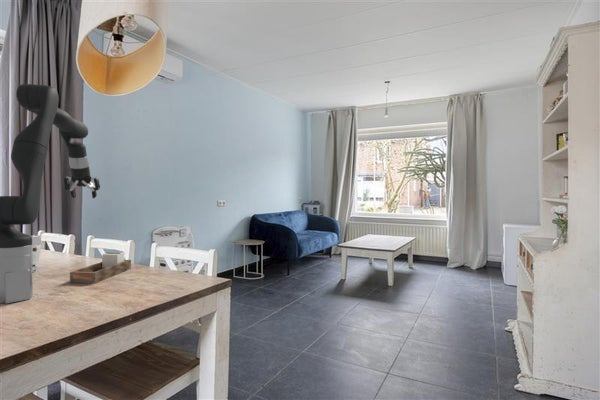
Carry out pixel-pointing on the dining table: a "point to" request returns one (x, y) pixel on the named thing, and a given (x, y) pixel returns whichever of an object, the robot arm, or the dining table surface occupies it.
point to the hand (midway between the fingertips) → (84, 197)
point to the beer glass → (35, 252)
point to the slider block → (112, 259)
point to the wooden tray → (98, 272)
